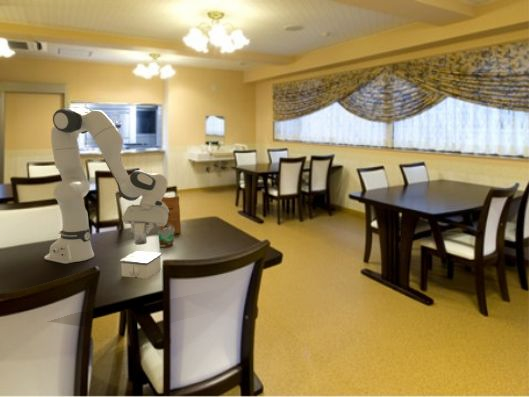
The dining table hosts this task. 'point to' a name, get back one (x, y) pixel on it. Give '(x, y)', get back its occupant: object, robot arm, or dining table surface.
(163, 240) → the food container
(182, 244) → the dining table surface
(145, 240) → the steel weight
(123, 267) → the scale
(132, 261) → the pan
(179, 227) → the coffee package
